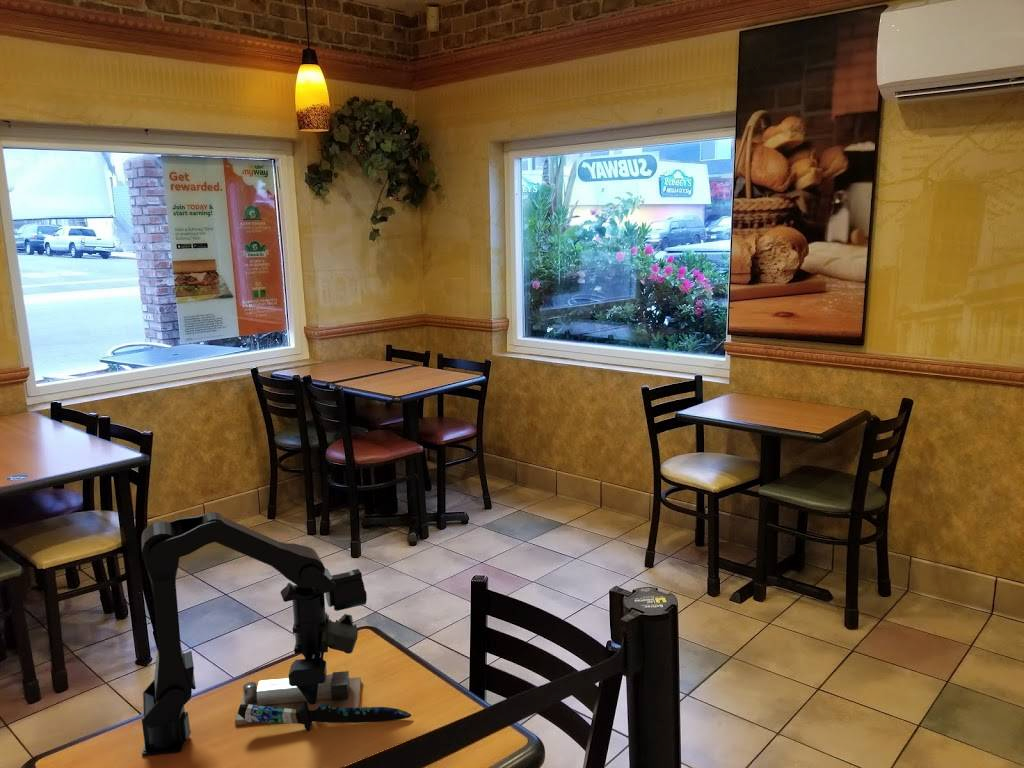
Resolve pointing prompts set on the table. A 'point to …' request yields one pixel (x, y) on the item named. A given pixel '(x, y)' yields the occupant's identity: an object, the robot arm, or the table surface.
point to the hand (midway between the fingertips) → (315, 690)
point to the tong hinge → (250, 693)
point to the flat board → (317, 701)
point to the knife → (319, 714)
